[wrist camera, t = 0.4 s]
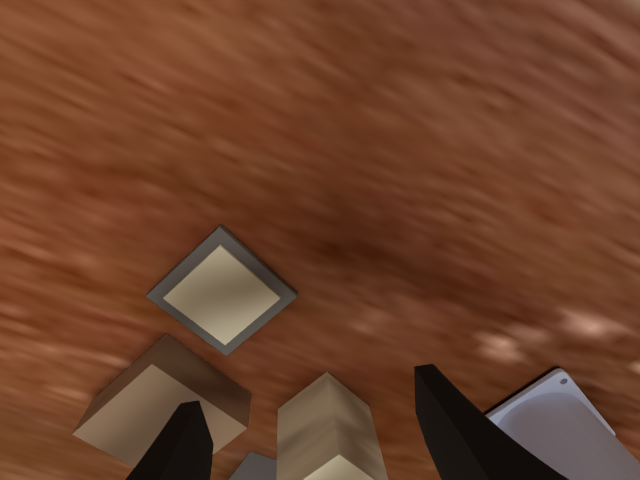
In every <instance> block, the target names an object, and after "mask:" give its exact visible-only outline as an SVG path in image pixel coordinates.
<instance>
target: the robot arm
mask: <svg viewBox="0 0 640 480" xmlns="http://www.w3.org/2000/svg"><path fill="white" fill-rule="evenodd" d="M414 371H415V406H416V414H417V418H418V421H419V424H420V427H421V430H422V433H423V436H424V439H425V442H426V445H427V447H428V449H429V452H430V454H431V456H432V459H433V461H434V463H435V465H436V468H437V470H438V472H439V474H440V477H441V479H442V480H640V463H639V462H638V461H637V460H636V459H635V458H634V456H633V455H632V454H631V453H630V452H629V451H628V450H627V449H626V448H625V447H624V446H623V445H622V444H621V443H620V441H619V440H618V439H617V438H616V437H615V432H614V431H613V430H612V429H611V427H610V426H609V425H608V424H607V422H606V421H605V420H604V419H603V417H602V416H601V415H600V414H599V412H598V411H597V410H596V409H595V408H594V406H593V405H592V404H591V403H590V401H589V400H588V399H587V398H586V396H585V395H584V394H583V393H582V391H581V390H580V389H579V388H578V387H577V385H576V384H575V383H574V382H573V380H572V379H571V378H570V377H569V375H568V374H567V373H566V372H565V371H564V370H563V369H560V368H559V369H555V370H553V371H552V372H550V373H549V374H547V375H546V376H544V377H543V378H541V379H540V380H538V381H537V382H535V383H534V384H532V385H531V386H529V387H527V388H526V389H524V390H523V391H521V392H520V393H518V394H517V395H515V396H514V397H512V398H511V399H509V400H508V401H506V402H505V403H503V404H502V405H500V406H499V407H497V408H496V409H494V410H493V411H491V412H490V413H488V414H486V415H484V414H483V413H482V412H481V411H480V410H479V409H478V408H477V407H475V406H474V405H473V404H472V403H471V402H470V401H469V400H468V399H467V398H466V397H465V396H464V395H463V394H462V393H461V392H460V391H459V390H458V389H457V388H456V387H455V386H454V385H453V384H452V383H451V382H450V381H449V380H448V379H447V378H446V377H445V376H444V375H443V374H442V373H441V372H440V371H439V369H438V368H437V367H436V366H435V365H433V364H428V365H422V366H416V367H414ZM213 446H214V443H213V440H212V437H211V434H210V431H209V428H208V425H207V422H206V419H205V416H204V413H203V410H202V407H201V404H200V401H199V400H198V401H192V402H185V403H180V405H179V406H178V407H177V409H176V410H175V412H174V413H173V414H172V416H171V417H170V419H169V420H168V422H167V423H166V425H165V426H164V427H163V429H162V430H161V432H160V433H159V435H158V436H157V438H156V439H155V440H154V442H153V443H152V445H151V446H150V447H149V449H148V450H147V451H146V453H145V454H144V456H143V457H142V458H141V460H140V461H139V462H138V464H137V465H136V467H135V468H134V469H133V471H132V472H131V473H130V474H129V476H128V477H127V478H126V479H125V480H210V474H211V466H212V456H213Z"/></svg>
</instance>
